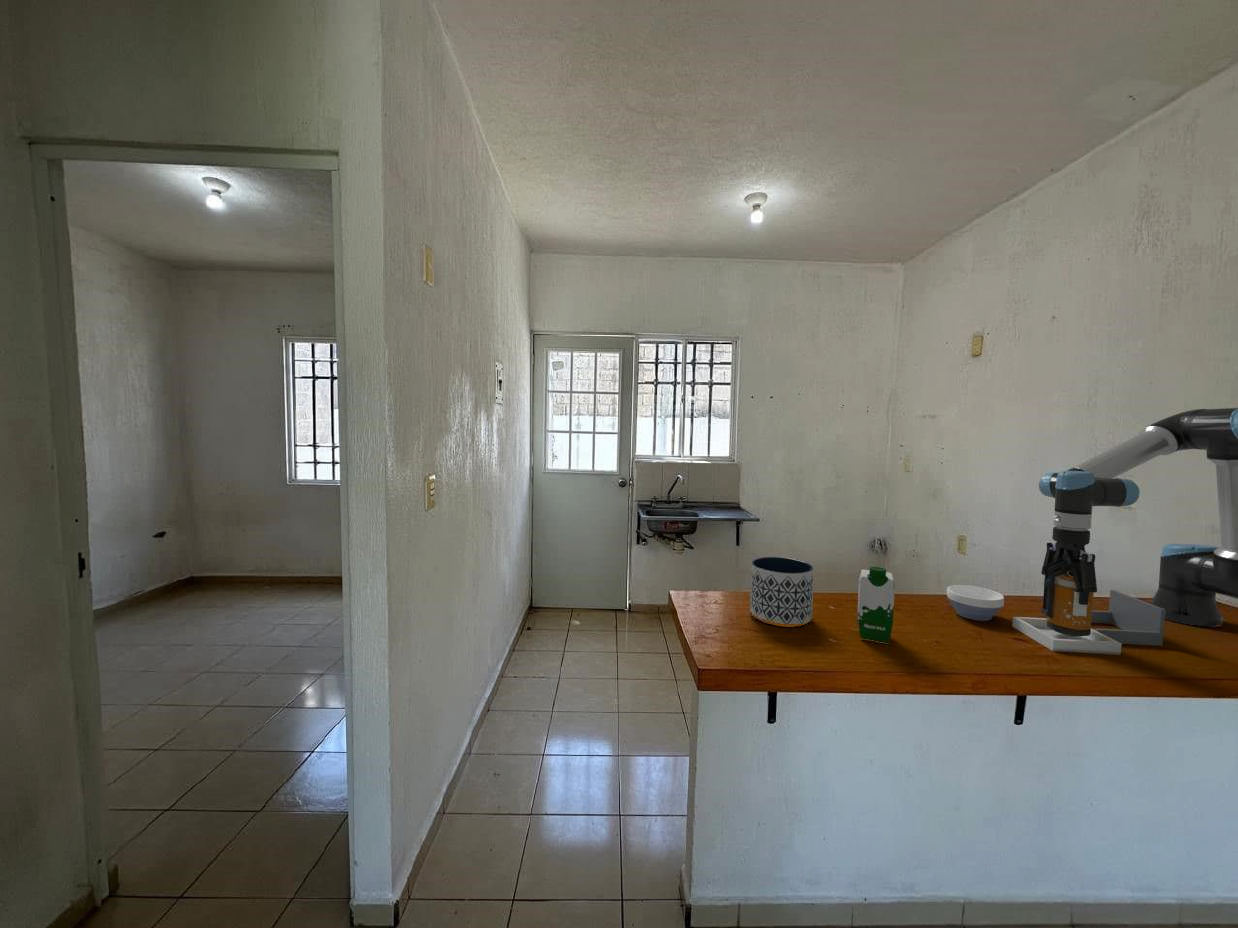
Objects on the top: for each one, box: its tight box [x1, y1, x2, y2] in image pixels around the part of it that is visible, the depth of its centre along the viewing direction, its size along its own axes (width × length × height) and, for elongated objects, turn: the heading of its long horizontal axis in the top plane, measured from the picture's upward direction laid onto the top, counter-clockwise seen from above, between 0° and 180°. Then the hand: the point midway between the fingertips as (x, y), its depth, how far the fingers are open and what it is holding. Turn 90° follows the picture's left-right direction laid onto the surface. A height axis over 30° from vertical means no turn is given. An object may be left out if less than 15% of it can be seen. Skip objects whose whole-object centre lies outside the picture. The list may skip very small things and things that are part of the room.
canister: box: [1039, 559, 1095, 637], centre depth 136 cm, size 9×11×20 cm
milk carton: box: [857, 566, 896, 644], centre depth 137 cm, size 9×9×20 cm
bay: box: [1091, 589, 1166, 646], centre depth 142 cm, size 16×16×10 cm
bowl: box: [946, 584, 1005, 622], centre depth 154 cm, size 14×14×8 cm
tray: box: [1012, 616, 1123, 656], centre depth 137 cm, size 16×16×3 cm
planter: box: [749, 556, 815, 625], centre depth 152 cm, size 18×18×16 cm
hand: (1065, 608), depth 136 cm, fingers closed on canister, 9 cm apart
